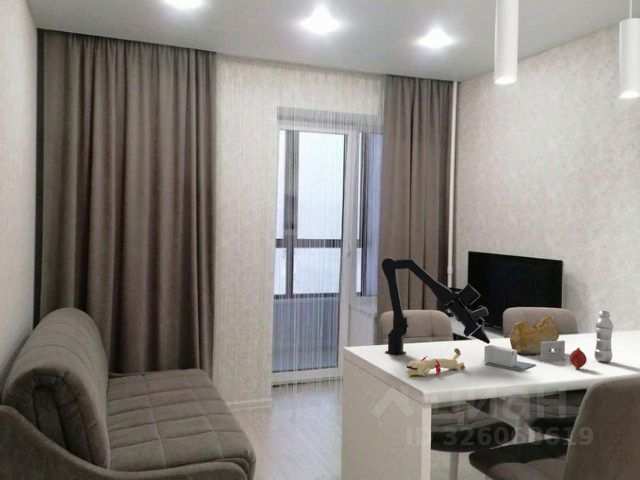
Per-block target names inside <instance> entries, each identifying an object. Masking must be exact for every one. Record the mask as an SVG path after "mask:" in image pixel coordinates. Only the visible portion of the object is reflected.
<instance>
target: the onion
mask: <svg viewBox="0 0 640 480" xmlns="http://www.w3.org/2000/svg"><path fill="white" fill-rule="evenodd" d="M569 361H570V364H572V366H573V367H575V369H577V370H578V369H579V370H580V369H581V368H582V367H584V366H585V365H586V363H587V356H586V354H585V353H584V352H583V351H582V350H581V347H576V349H574V350H573V351H572V352H571V353H570V354H569Z"/></svg>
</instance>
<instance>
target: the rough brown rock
mask: <svg viewBox="0 0 640 480" xmlns="http://www.w3.org/2000/svg"><path fill="white" fill-rule="evenodd" d="M559 338H560V334H559V329H558V325H557V323H556V322H555V321H553V319H552V317H551V316H544V317H541V318H539V319H538V320H537V321H535V323H534V324H531V323H529V322H528V321H518V322H515V323H514V324H513V327H512V329H511V332H510V334H509V342H510V347H511V349H514V350H517V354H521V355H532V354H533V355H537V354H541V342H549V341H559Z"/></svg>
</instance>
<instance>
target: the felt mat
mask: <svg viewBox="0 0 640 480" xmlns="http://www.w3.org/2000/svg"><path fill="white" fill-rule="evenodd" d="M484 365H485V366H491V367H495V368H499V369H500V368H501V369H506V370H511V371H515V372H522V371H523V372H524V371H525V370H528V369H530V367H531V368H533V367H535V366H537V364H536V363H530V362H524V361H519V360H517V366H513V367H508V366H503V365H499V364H494V363H490V362H486V363H484Z"/></svg>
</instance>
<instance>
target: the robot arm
mask: <svg viewBox="0 0 640 480" xmlns="http://www.w3.org/2000/svg"><path fill="white" fill-rule="evenodd" d="M381 269H382V271H383V273H384V276H385V278H386V280H387V284H388V285H387V286H388V290H389V291H388V292H389V297H390V303H391V307H392V313H393V316H392V317H393V318H392V329H391V330H390V331H389V332H388V333H387V337H388V338H387V350H386V351H384V353H385V354H390V355H396V356H399V355H403V354H406V353H407V351H404V337H403V336H405V335H406V334H407V333H408V330H409V329H410V328H409V327H410V326H411V324H410V322H409V315H405V314H404V310H403V306H402V305H403V304H402V299H401V294H400V289H399V282H398V270H405V269H407V270H409V271H411V273H413V274H414V275H415V276H416V277H418V279H419V280H420V281H421V282H423V283H424V284H425V285H426V286H427V287H428V288H429V289H430V290H431V292H432V293H433V295H434V296H435V297H436V298H437V300H438V301H439V302H441V303H442V304H443V303H447V304H443V312H444V313H445V312H447V311H449V312H451V314H452V315H453V316H454V317H455V318H456V319H457V322H458V323H461V325H462V326H463V327H464V329H463V335H464V336H465V337H466V338H468V337H469V336H470V337H472V338H474V339H477V340H479V341H481V342H483V343H484V344H487V345H490V343H491V340H490V339H489V337H488V335H487V334H486V332H485V330H484V325H485V323H484V322H485V321H486V320H485V319H484V317H488V316H489V311H488V308H487V307H486V306H483V305H479V306H477V309H476V310H472V309H468V308H467V307H466V306H468V305H469V306H471V305H472V304H474V302H475V301H477V300H478V299H479V298H480V297H481V294H480V293H479V292H478V290H476V289H475V288H474V287H473V286H471V284H470V283H467V284H466V285H465V286H464V287H463V288H462V289H461V290H460V291H454V290H451V289H450V288H449V287H447V286H446V285H444V284H443V283H441V282H439V281H437V280H436V279H434V277H433V276H431V275H430V274H429V273H428V272H427V271H426V270H425V269H424V268H422V267H421V266H420V265H419V264H418V263H417V262H416V260H415V259H413V258H409V259H395V258H393V257H387V258H384V259H383V260H382V262H381ZM453 300H454V301H453Z"/></svg>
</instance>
